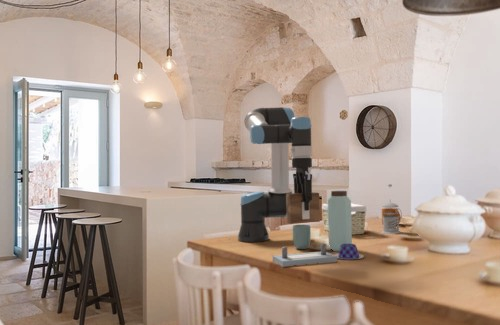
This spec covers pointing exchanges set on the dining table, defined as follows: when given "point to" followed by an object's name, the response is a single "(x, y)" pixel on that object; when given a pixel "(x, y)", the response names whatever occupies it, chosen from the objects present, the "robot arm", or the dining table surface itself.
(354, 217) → the storage basket
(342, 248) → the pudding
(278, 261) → the light blue peg stand
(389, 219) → the french press
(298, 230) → the cup
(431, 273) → the dining table surface
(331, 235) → the water bottle
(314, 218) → the wooden block
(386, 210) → the glass coffee carafe
